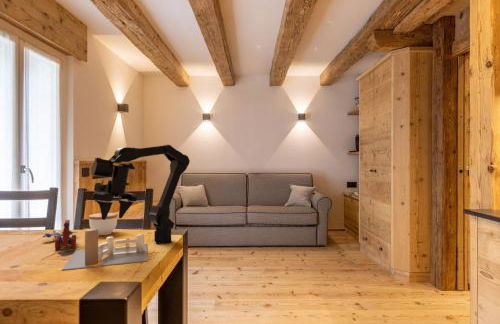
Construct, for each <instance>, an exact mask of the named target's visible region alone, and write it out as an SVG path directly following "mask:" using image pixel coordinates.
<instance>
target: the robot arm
mask: <svg viewBox="0 0 500 324" xmlns="http://www.w3.org/2000/svg"><path fill="white" fill-rule="evenodd" d="M113 153H114V154H113V155H112V156H111V157H110V158H109V159H103V158H101V157H95V158H94V161H93V163H92V166H90V175H91V176H92V177H101V178H107V179H108V178H109V177H110V176H112V177H111V180H110V179H109V180H108V181H107V184H103V183H102V182H95V183H94V186H93V190H94V193H92V200H94V202H96V203H97V204H98V205H99V209H100V213H101V215H102V219H103V220H105V219H106V217H107V215H108V213H110V210H111V208H112V205H113V202H112V201H113V200H117V201H118V203H119V209H118V210H119V211H118V219H122V218H123V217H124V216H125V214H126V213H127V212H128V210H129V209H130V208H131V206H133V204H135V202H137V198H138V196H137V194H136V193H130V192H126V189H127V186H130V182H128V178H129V173H130V170H135V169H136V167H135V166H134V165H133V163H132V161H135V160H138V159H139V158H144V157H152V156H158V155H159V156H160V155H163V156H165V157H166V159H167V160H168V161H169V162H170V163H169V169H170V172H169V174H168V177H167V179H166V182H165V186H164V188H163V191H162V194H161V195H160V198H159V201H158V203H157V204H156V205H153V204H152V205H151V208H150V211H149V213H148V215H149V221H150V223H152V225H153V227H154V228H155V230H154V232H153V233H154V234H153V236H154V237H153V239H154V242H155V244H157V245H160V244H161V245H162V244H170V243H173V241H172V229H174V226H175V222H173V221H172V220H171V219H170V214H171V208H170V206H171V203H172V200H173V197H174V195H175V192H176V189H177V188H178V184H179V181H180V178H181V176H182V175H183V174H184V173H185V172H186V171H187V169H188V167H189V165H190V158H189V155H187V154H183V153H182V152H181V151H180V150H178V149H176V148H175V147H173V146H172V145H170V144H162V145H158V146H157V145H156V146H149V147H147V146H146V147H128V146H127V147H118V148H117V149H116V150H115V151H114V152H113ZM116 164H118V165H116Z"/></svg>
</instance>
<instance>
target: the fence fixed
mask: <svg viewBox="0 0 500 324" xmlns="http://www.w3.org/2000/svg"><path fill="white" fill-rule="evenodd" d="M114 239H115V238H114V236H107V237H106V242H109V246H106V247H107V249H109V253H107V255H113V254H114V247H115V246H114V245H119V244H120V245H121V244H125V245H122V246H123V247H115V251H122V250H126V252H129V250H132V249H136V252H144V244H145V234H143V233H139V234H136V235H135V238H130V237H125V239H116V240H114ZM114 242H115V243H114ZM131 243H135V244H133V245H134V246H129V245H130V244H131Z"/></svg>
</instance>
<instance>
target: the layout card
mask: <svg viewBox="0 0 500 324" xmlns="http://www.w3.org/2000/svg"><path fill="white" fill-rule="evenodd" d="M134 245H135V244H129V246H134ZM123 246H124V245H116V246H114V254H113V255H107V254H105V255H103V258H101V259H98V263H97V264H93V265H85V248H82V249H81V248H80V249H75V251H74V252H73V253H72V254H71V256H70V258H69V259H68V260H67V262H66V263H65V264H64V265H63V267H62V269H61V271H68V270H79V269H80V270H81V269H89V268H90V269H91V268H97V267H107V266H117V265H127V264H134V263H135V264H136V263H137V264H139V263H143V262H144V263H146V262H148V261H149V257H148V245H147V243H144V252H136V249H132V250H129V252H126V250H122V251H115V247H123ZM106 249H107V246H106V247H104V248H103V250H106Z"/></svg>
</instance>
